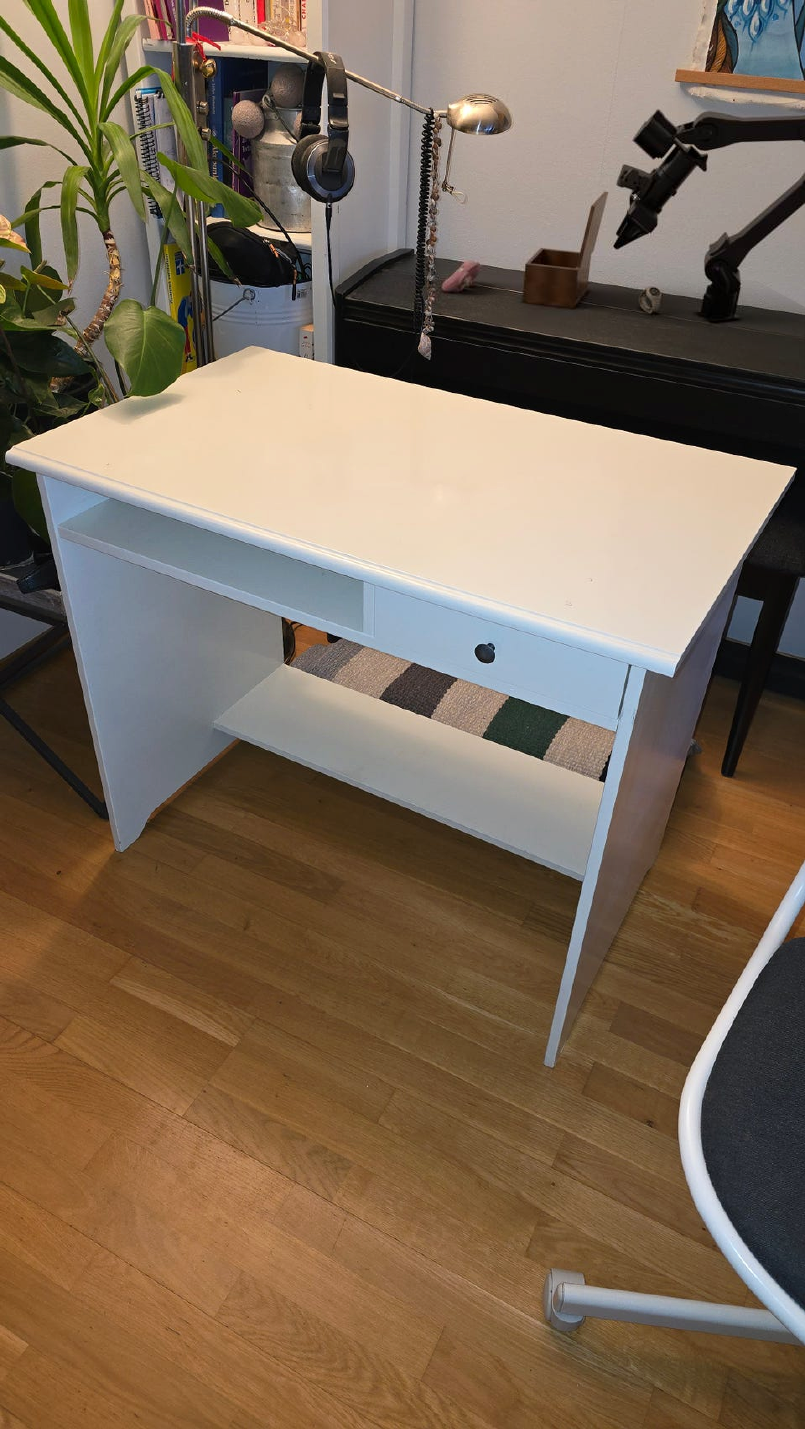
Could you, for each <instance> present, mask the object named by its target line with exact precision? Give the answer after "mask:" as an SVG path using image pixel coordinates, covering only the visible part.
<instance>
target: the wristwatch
mask: <svg viewBox="0 0 805 1429" xmlns="http://www.w3.org/2000/svg"><path fill="white" fill-rule="evenodd" d="M646 298H648V299H649V300H650V302H651V305H652V307H651V306H650V305H649V304H648V303H647V299H646ZM661 299H662V291H661V290H660V288H658V287H656V286H651V285H650V286H647V287H645V288H644V290H643V291H641V292H640V294H639V298H638V300H639V304H640V305H639V306H640V308H641V309H642V310H643V311H644V312H646V313H647V314H656V313H657V312H658V311H659V310H660V306H661Z"/></svg>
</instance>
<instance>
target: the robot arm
mask: <svg viewBox="0 0 805 1429" xmlns="http://www.w3.org/2000/svg"><path fill="white" fill-rule="evenodd" d="M793 141H794V142H795V141H796V142H797V141H802V142H803V143H805V114H803V115H779V116H753V117H752V116H750V117H749V116H748V117H741V116H735V115H732V114H730V113H723V112H718V111H709V110H707V111H703V112H701V113H700V114H698V116H696V118H695V119H694V120H692V121H689V122H685V123H682V124H679V125H677V126H676V125H674V123H673V122H671V121H670V119H668V117H666V116H665V114H664V113H663V112H662V111H661V109H660V108H657V109H655V111H654V113H653V114H651V116H650V117H649V118H648V119H647V120H646V121H644V122H643V124H642V125H641V126H640V128H639V129H638V131H637V132H636V133H635V135H634V136H633V138H632V142H633V143H634V144H635V145H636V146H637V147H638V148H640V149H641V150H642V151H643V152H644V153H645V154H646V155H647V156H648V157H649V158H650V159H652V161H654V160H656V158H657V159H658V160H659V159H661V160H662V159H663V158H664V157H665V156H666V157H665V159H664V160H663V161H662V162H661V163H660V164H659V166H658V167H655V168H653V169H651V171H650V172H647V171H645V170H643V169H640V168H637V167H634V166H632V165H628V164H622V166H621V169H620V172H619V175H618V177H617V180H616V186H617V187H619V188H621V189H623V188H625V189H628V190H630V191H631V192H630V193H631V194H629V197H628V198H629V203H628V204H629V207H628V209H627V210H626V213H625V216H624V217H623V219H622V221H621V223H620V225H619V226H618V227H617V228H618V229H617V230H616V232H615V235H616V236H617V238H616V240H615V241H614V244H613V245H612V247H613V249H615V250H619V249H621V248H623V247H625V246H627V245H629V244H630V243H632V242H634V241H636V240H638V239H640V238H642V237H644V236H647V235H649V234H652V233H653V231H654V230H655V229H656V228H657V227H658V224H659V215H660V214H661V213H662V211H663V208H664V206H665V205H666V204H667V203H668V202H669V200H670V199H671V198H672V197H674V198H675V196H676V195H677V194H678V189H679V188H680V187H681V186H682V185H683V184H684V182H685V181H686V180H687V179H688V178H689V177H690V176H691V174H692V173H693V172H694V170H695V169H696V168H697V167H698V168H699V169H700V170H701V171H703V172H704V173H705V172H707V171H708V159H709V154H708V153H706V152H708V151H713V150H719V149H722V148H726V147H729V146H731V145H735V144H739V143H759V142H760V143H761V142H763V143H765V142H793ZM685 145H688V147H687V146H685ZM673 146H674V147H673ZM672 147H673V149H672ZM671 149H672V150H671ZM670 150H671V151H670ZM669 151H670V152H669ZM699 151H701V152H705V153H701V152H699ZM668 152H669V154H668ZM667 154H668V155H667ZM804 205H805V172H804V173H803V174H802V175H801V177H800V178H799V179H798V180H797V181H796V182H795V183H794V184H792V185H791V186H790V187H789V188H788V189H786V191H784V192H783V193H782V194H780V195H779V197H777V198H776V199H775V200H774V201H772V203H771V204H769V205H768V206H767V207H766V208H764V210H763V211H762V212H760V213H759V214H758V215H757V216H756V217H755V218H754V219H753V220H751V221H750V222H749V223H748V224H747V225H746V226H744V228H743V227H742V229H741V230H740V231H739V232H736V233H735V234H732V235H730V236H729V235H728V233H727V232H726V231H725V232H723V233H722V234H721V236H720V237H719V238H718V239H717V240H716V241H715V242H712V243H711V244H709V245H708V248H709V249H708V251H706V253H705V255H704V260H703V270H704V275H705V277H706V279H707V280H708V281H709V282H711V283H710V284H707V285H706V291H705V293H704V294H703V296H702V297H703V298H702V303H701V308H700V309H698V310H697V314H698V315H700V316H702V317H703V318H705V319H707V320H709V321H710V322H712V323H719V322H727V321H734V320H739V319H740V316H739V315H738V314H736V311H737V307H738V303H739V298H740V293H741V290H742V286H741V285H742V282H741V272H740V270H739V267H740V266H741V264H742V263H743V261H744V260H745V259H746V257H747V256H748V254H749V253H750V252H751V251H752V250H753V249H754V248H755V247H756V246H757V245H758V244H760V243H761V242H762V241H763V240H764V239H766V238H767V237H768V236H769V235H770V234H771V233H772V232H774V231H775V230H776V229H777V228H778V227H779V226H781V225H782V224H783V223H784V222H785V221H787V219H789V218H790V217H791V216H792V215H794V213H796V212H797V211H799V209H800V208H801V207H803V206H804Z"/></svg>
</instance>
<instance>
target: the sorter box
mask: <svg viewBox="0 0 805 1429" xmlns="http://www.w3.org/2000/svg"><path fill="white" fill-rule="evenodd" d="M579 255H580V251H571V250H564V249H553V248H546V247H540V248H539V249H538V250H537V251H536V252H535V253H534V254H533V255H532V256H531V257H530V259H529V260H528V261H527V262H526V263H525V264H524V275H523V276H524V277H523V288H522V290H523V291H522V303H526V304H527V303H528V304H535V305H543V306H544V305H545V306H552V307H560V308H567V309H575V307H576V306H577V305H578V303H579V302H580V301H581V299H582V298H583V297H584V296H585V294H586V293H587V292H588V287H589V277H590V268H591V260H592V254H591V255H590V256H589V258H588V259H587V260H586V261H585V262H584V264H583V265H582V266H581V267H580V268H578V267H577V263H578V259H579Z"/></svg>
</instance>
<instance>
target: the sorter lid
mask: <svg viewBox="0 0 805 1429" xmlns="http://www.w3.org/2000/svg"><path fill="white" fill-rule="evenodd" d="M608 195H609V191H604V192H602V194H601V195H600V196H599V197H598V198H597V199H596V200H595V201H594V202H593V203H592V205H590V210H589V213H588V217H587V222H586V226H585V230H584V234H583V238H582V242H581V246H580V249H579V250H580V251H579V252H580V255H579V259H578V263H577V267H578V268H580V267H581V266H582V265H583V264H584V262H585V261H586V260H587V259H588V258H589V256H590V255H591V256H592V254H593V253H594V251H595V247H596V244H597V238H598V235H599V230H600V228H601V225H602V224H601V223H602V219H603V215H604V212H605V207H606V203H607V200H608Z"/></svg>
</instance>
